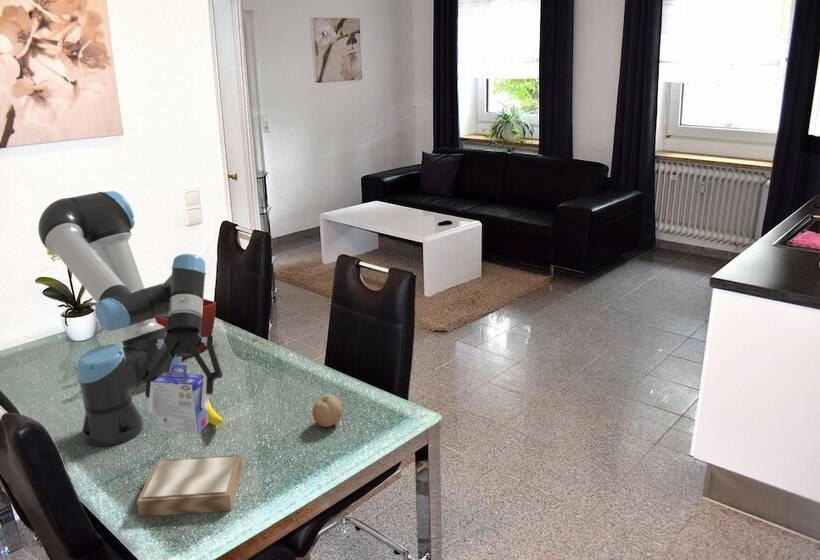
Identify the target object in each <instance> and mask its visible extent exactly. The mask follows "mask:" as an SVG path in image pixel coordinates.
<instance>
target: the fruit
mask: <svg viewBox="0 0 820 560" xmlns="http://www.w3.org/2000/svg"><path fill="white" fill-rule="evenodd" d="M311 413H312V417H313V420H314V421H315V422H316V424H317V425H318V426H320V427H322V428H323V427H324V428H330V427H331V426H335V425H336V424H337V423H338V422H339V421H340V419H341V418H342V415H343V406H342V403H341V401H340V400H339V399H338V398H337V397H336V396H335V395H332V394H325V395H322V396H320V397H319V398H318V399H317V400H316V402H315V403H314V404H313V407H312V412H311Z"/></svg>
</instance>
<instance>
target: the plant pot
mask: <svg viewBox="0 0 820 560" xmlns="http://www.w3.org/2000/svg"><path fill="white" fill-rule="evenodd" d="M216 304H217V303H216V301H212V300H211V299H206V298H203V312H202V317H201V319H202V327H201V337H208V336H209V335H212V336H213V329H214V326H215V319H216V310H217V309H216ZM155 319H156V322H157V323H158V324H160V325H162V326H164V327H165V330H166V332H167V324H168V317H166V316H159V317H156V318H155ZM197 351H198V353H199V354H200V353H202V352H204V351H208V348H207V347H206V346H205V344H204V343H202V344H201V345H200V346H199V347H198V349H197ZM192 356H193V354H192V355H190V356H182V359H181V361H183V360H185V359H188V358H190V357H192Z"/></svg>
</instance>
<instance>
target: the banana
mask: <svg viewBox="0 0 820 560" xmlns="http://www.w3.org/2000/svg"><path fill="white" fill-rule="evenodd" d="M207 411H208V418H209V423H210V425H213V426H219V427H220V426H221V425H223V422H224V419H222V417H221V416H220V415H219V414H218V412H216V411H215V410H214V409H213V407H212V404H211V402H210V400H209V398H208V410H207ZM209 423H208V424H209Z"/></svg>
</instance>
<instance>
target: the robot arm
mask: <svg viewBox="0 0 820 560" xmlns="http://www.w3.org/2000/svg"><path fill="white" fill-rule="evenodd" d="M134 217H135V215H134V211H133V209H132V207H131V204H130V203H129V202H128V200H127V199H126V197H124V196H123V194H121V193H120V192H117V191H113V190H110V191H109V190H108V191H98V192H95V193H89V194H83V195H77V196H72V197H64V198H60V199H56V200H55V201H53V202H51V204H49V205H48V206H47V207H46V208H45V209H44V211H43V212H42V213H41V215H40V218H39V221H38V229H37V230H38V236H39V240H40V241H41V242H42V245H43V246H44V248H45V249H46V250H47V251H48V252H49V253H51V254H52V255H55V256H58V258H60V260H61V261H62V263H64V265H65V266H66V267H67V269H68V270H69V271H70V272H71V273H72V275H74V277H75V278H76V279H77V280H78V282H79V283H80V284H81V285H82V287H83V288H84V289H85V290H86V291H87V292H88V294H89V295H90V296H91V297H92V299H94V301H95V303H96V304H95V306H94V307H95V310H94V311H95V316H96V320H97V321H98V322H99V323H98V324H99V325H100V327H101V328H102V329H103V330H105V331H107V332H111V331H115V330H119V329H123V330H124V336H123V337H122V339H121V343H122V345H123V347H122V346H121V345H119V344H115V343H114V344H107V345H106V344H104V345H103V344H102V345H100V346H97V347H95V348H92V349H90V350H89V351H87V352H85V353H84V354H83V355H81V356H80V358H79V359H78V360H77V363H76V369H77V379H78V382H79V383H78V384H79V387H80V392H81V396H82V401H83V407H84V417H83V423H82V429H81V434H82V439H83V442H84V443H86V444H87V445H89V446H91V447H110V446H115V445H119V444H122V443H124V442H127V441H129V440H132V439H133V438H135V437H136V436H137V435H139V434H140V433H141V432H142V430H143V429H144V422H143V416H142V415H141V413H140V412H139V410H138V409H137V407H136V404H135V403H134V402H133V399H132V398H133V397H132V393H131V392H132V391H133V390H135V389H138V388H141V387H143V386H145V394H144V395H145V397H146V398H147V399H148V408H147V411H148V412H149V413H150V414H152V415H153V414H156V406H155V399H154V392H153V385H152V382H153V381H154V380H155V379H156V378H157V377H158V376H160V375H161V374H162V373H164V372H171V368H172V364H175V365H182V364H181V363H182V360H181V359H182V356H190V355H192V354H193V355H192V356H193V357H194V359H195V360H196V363H198V365H199V367H200V368H201V370H202V371H203V373H204V375H205V376H206V377H203V385H202V401H201V408H202V409H203V410H204V411H205V410H208V399H209V395H213V393H214V382H215V380H217V379H221V378H222V377H223V372H222V369H221V366H220V362H219V359H218V356H217V353H216V349H215V345H216V339H215V338H214V337H213V334H212V335H209V336H208V337H201V327H202V319H201V317H202V312H203V299H204V294H205V279H206V263H205V262H206V261H205V260H204V259H203V258H202V257H201V256H199V255H196V254H191V253H183V254H178V255H176V256H175V257H174V258H173V262H172V266H171V273H170V276H169V277H168V278H167V279H166V280H165V281H164V282H163V283H162V282H161V283H159V284H157V285H152V286H149V287H145V286H144V283H143V281H142V277H141V274H140V271H139V269H138V266H137V264H136V260H135V258H134V255H133V252H132V250H131V246H130V244H129V240H130V238H131V236H132V232H131V231H132V229H133V228H134V226H135V219H134ZM159 316H166V317H168V324H167V332H166V330H165V327H164V326H162V325H160V324H158V323H157V322H156V319H155V318H156V317H159ZM202 343H204V344H205V346H206V347H207V348H208V349H207V353H208V355H209V358H210V362H211V364H212V367H213V371H211V370H210V368H209V367H208V366H207V364H206V362H205V361H204V358H203V357H202V356H201V354H200V353H198V351H197V349H198V347H199V346H200V345H201V344H202ZM190 357H191V356H190ZM179 369H180V368H176V369H174V371H175V372H179V371H178V370H179Z"/></svg>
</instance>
